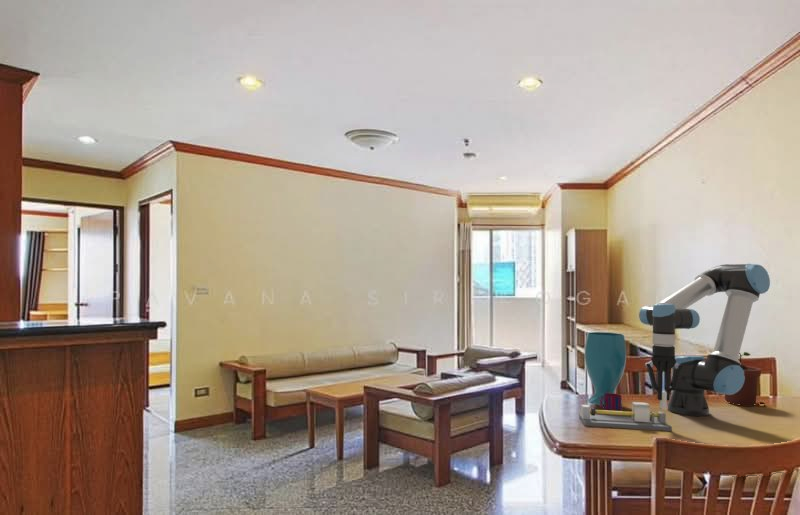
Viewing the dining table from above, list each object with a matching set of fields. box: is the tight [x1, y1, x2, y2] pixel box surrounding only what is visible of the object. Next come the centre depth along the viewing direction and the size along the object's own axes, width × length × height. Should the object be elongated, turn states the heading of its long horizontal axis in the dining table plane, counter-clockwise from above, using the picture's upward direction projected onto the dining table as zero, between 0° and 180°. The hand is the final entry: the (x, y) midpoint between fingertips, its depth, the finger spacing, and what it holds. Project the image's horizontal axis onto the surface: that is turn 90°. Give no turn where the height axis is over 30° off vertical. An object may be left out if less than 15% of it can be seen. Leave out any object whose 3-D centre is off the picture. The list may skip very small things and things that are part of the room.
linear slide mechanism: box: [578, 404, 673, 432], centre depth 203 cm, size 30×12×6 cm, turn 81°
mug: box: [599, 393, 622, 411], centre depth 222 cm, size 7×10×7 cm
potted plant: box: [724, 351, 766, 405], centre depth 245 cm, size 18×22×25 cm
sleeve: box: [631, 401, 651, 422], centre depth 202 cm, size 5×5×6 cm
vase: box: [584, 331, 627, 406], centre depth 240 cm, size 17×17×30 cm
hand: (663, 408), depth 201 cm, fingers closed
